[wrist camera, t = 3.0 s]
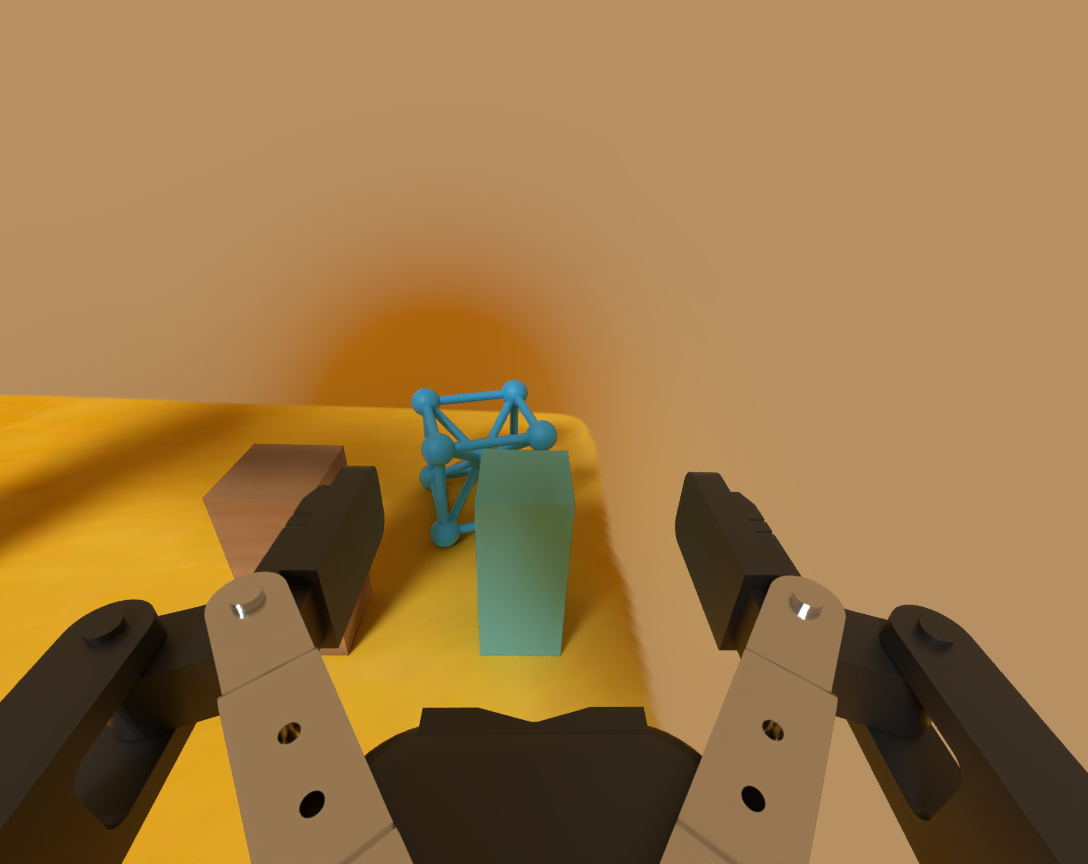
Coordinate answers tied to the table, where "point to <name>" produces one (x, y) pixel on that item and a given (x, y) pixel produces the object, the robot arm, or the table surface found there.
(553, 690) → the table surface
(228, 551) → the walnut pillar
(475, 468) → the molecular structure
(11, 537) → the table surface
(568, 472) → the teal pillar
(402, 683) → the table surface
